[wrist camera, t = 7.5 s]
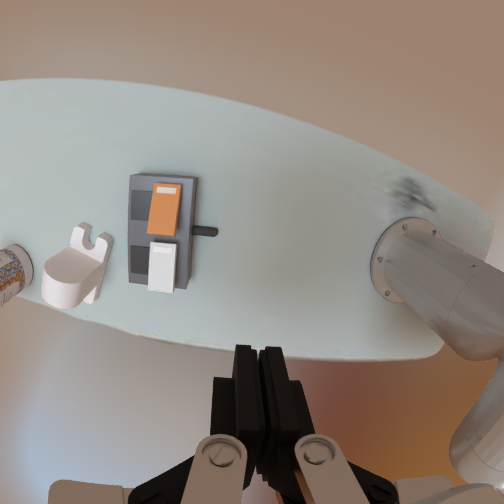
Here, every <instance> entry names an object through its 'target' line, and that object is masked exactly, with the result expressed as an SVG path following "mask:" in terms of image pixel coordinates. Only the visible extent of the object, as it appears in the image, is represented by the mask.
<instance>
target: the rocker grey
mask: <svg viewBox="0 0 504 504" xmlns="http://www.w3.org/2000/svg"><path fill="white" fill-rule="evenodd" d="M177 245H178V244H175V243H165V242H155V241H152V242H150V256H149V274H148V290H151V291H159V292H167V293H173V292H174V289H175V272H176V258H177Z"/></svg>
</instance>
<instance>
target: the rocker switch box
mask: <svg viewBox="0 0 504 504" xmlns="http://www.w3.org/2000/svg"><path fill="white" fill-rule="evenodd" d="M154 183H162V184H176V185H181V186H182V192H181V198H180V205H179V212H178V220H177V228H176V236H175V237H169V236H159V235H149V234H147V227H148V220H149V213H150V207H151V200H152V194H153V188H154ZM196 187H197V177H190V176H176V175H161V174H142V173H139V174H134V175H130V184H129V205H128V273H129V282H130V283H138V284H145V285H148V274H149V256H150V242H152V241H155V242H165V243H175V244H178V245H177V258H176V272H175V288H179V289H186V288H187V285H188V282H189V279H190V270H191V252H192V236H193V235H202V236H212V237H214V236H216V235H217V234H218V231H217V229H215V228H208V227H198V226H193V223H194V210H195V198H196Z"/></svg>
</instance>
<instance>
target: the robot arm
mask: <svg viewBox="0 0 504 504" xmlns="http://www.w3.org/2000/svg"><path fill="white" fill-rule="evenodd" d="M371 277H372V281H373V284H374V286H375V288H376V290H377V291H378V292H379V293H380V294H381V295H382V296H383V297H384V298H385V299H387V300H389V301H390V302H394V303H406V304H407V305H408V306H409V307H410V308H411V309H412V310H413V311H414V312H415V313H416V314H418V315H419V316H420V317H421V318H422V319H423V320H424V321H425V322H426V323H427V324H428V325H429V326H430V327H431V328H432V329H433V330H434V331H435V332H436V333H437V334H438V335H439V336H440V337H441V339H443V340H444V342H445V343H446V344H447V345H448V346H449V347H450V348H452V350H453V351H455V353H456V354H458V355H459V356H460V357H462V358H464V359H466V360H469V361H486V360H491V359H495V358H497V359H498V366H497V369H496V370H495V373H494V374H493V376H492V377H491V379H490V382H489V383H488V385H487V386H486V388H485V389H484V391H483V392H482V394H481V395H480V397H479V398H478V400H477V401H476V402H475V404H474V405H473V406H472V408H471V409H470V410H469V412H468V413H467V414H466V416H465V417H464V418H463V420H462V421H461V423H460V424H459V426H458V427H457V429H456V430H455V432H454V434H453V436H452V438H451V441H450V445H449V458H450V462H451V465H452V467H453V468H454V470H455V471H456V472H457V474H458V475H459V476H460V477H461V478H463V479H464V480H465V481H466V482H468V483H470V484H465V485H460V486H457V487H454V488H453V485H452V483H451V481H450V480H449V479H448V478H447V477H445V476H443V475H434V476H427V477H419V478H411V479H400V480H396V481H395V482H390V481H388V480H386V479H384V478H382V477H380V476H378V475H375V474H373V473H371V472H369V471H367V470H365V469H362V468H361V467H359V466H357V465H355V464H353V463H351V462H348V461H347V460H346V459H345V457H344V455H343V453H342V451H341V450H340V448H339V446H338V445H337V443H336V442H335V441H334V440H332V439H331V438H330V437H327V436H325V435H320V434H315V430H314V427H313V423H312V420H311V416H310V412H309V409H308V406H307V402H306V398H305V395H304V391H303V388H302V384H301V382H300V381H299V380H294V381H293V380H289V377H288V373H287V369H286V365H285V361H284V356H283V352H282V349H281V347H270V346H266V348H265V350H260V353H259V358H258V359H257V351H256V350H255V349H251V345H237V344H236V348H235V356H234V366H233V373H232V378H222V377H214V380H213V395H212V410H211V428H210V436H209V437H206V438H204V439H203V440H202V441H201V442H200V443H199V445H198V447H197V449H196V453H195V455H194V456H192V457H190V458H189V459H187V460H185V461H184V462H182V463H180V464H179V465H177V466H175V467H173V468H171V469H170V470H168V471H166V472H164V473H162V474H161V475H159V476H157V477H155V478H153V479H151V480H149V481H148V482H145V483H144V484H141V485H139V486H137V487H136V488H122V486H117V485H104V484H103V485H102V484H94V483H86V482H78V481H72V480H58V481H56V482H54V483H53V484H52V485H51V486H50V489H49V495H48V504H241V497H242V491H243V490H244V489H245V488H247V487H248V486H249V485H250V482H251V479H252V475H253V472H254V469H255V466H256V471H257V474H262V479H263V481H268V485H269V486H270V487H272V488H273V489H275V493H276V498H277V501H278V504H504V495H503V494H504V273H503V272H502V271H500V270H498V269H496V268H494V267H493V266H491V265H489V264H487V263H485V262H483V261H482V260H480V259H478V258H476V257H474V256H472V255H470V254H469V253H467V252H465V251H463V250H461V249H459V248H457V247H455V246H453V245H451V244H449V243H447V242H445V241H443V240H442V238H441V235H440V233H439V231H438V230H437V228H436V227H435V226H434V225H433V224H431V223H430V222H428V221H426V220H424V219H421V218H417V217H410V218H406V219H402V220H400V221H398V222H396V223H395V224H393V225H392V226H391V227H390V228H388V229H387V231H386V232H385V233H384V234H383V235H382V237H381V238H380V240H379V241H378V243H377V245H376V247H375V250H374V253H373V256H372V261H371Z"/></svg>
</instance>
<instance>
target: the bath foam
mask: <svg viewBox="0 0 504 504" xmlns="http://www.w3.org/2000/svg"><path fill="white" fill-rule="evenodd" d="M32 276H33V269H32V264H31V261H30V259H29V257H28V255H27V253H26V252H25V251H24V250H23V249H22V248H21V247H19V246H17V245H11V246H8V247H6V248H5V249H2V250H1V251H0V307H1V306H3V305H4V304H5V303H6V302H8V301H9V300H10V299H11V298H12V297H14V296H15V295H16V294H18V293H19V292H20V291H21V290H23V289H24V288H25V287H26V286H28V285H29V284H30V282H31V280H32Z"/></svg>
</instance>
